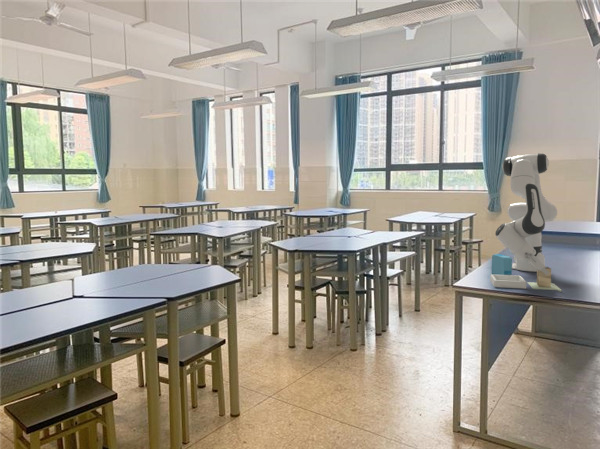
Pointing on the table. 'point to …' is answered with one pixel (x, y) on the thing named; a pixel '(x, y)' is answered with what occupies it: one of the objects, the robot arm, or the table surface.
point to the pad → (553, 287)
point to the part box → (544, 278)
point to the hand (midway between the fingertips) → (545, 272)
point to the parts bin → (507, 281)
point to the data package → (501, 265)
